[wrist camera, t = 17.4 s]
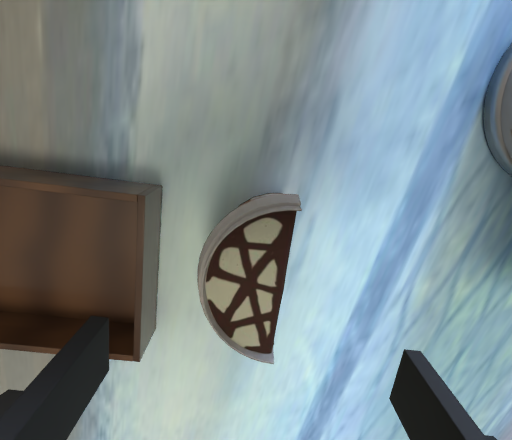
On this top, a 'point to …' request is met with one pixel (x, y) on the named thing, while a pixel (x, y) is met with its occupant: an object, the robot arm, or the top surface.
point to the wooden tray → (77, 259)
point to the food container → (248, 272)
